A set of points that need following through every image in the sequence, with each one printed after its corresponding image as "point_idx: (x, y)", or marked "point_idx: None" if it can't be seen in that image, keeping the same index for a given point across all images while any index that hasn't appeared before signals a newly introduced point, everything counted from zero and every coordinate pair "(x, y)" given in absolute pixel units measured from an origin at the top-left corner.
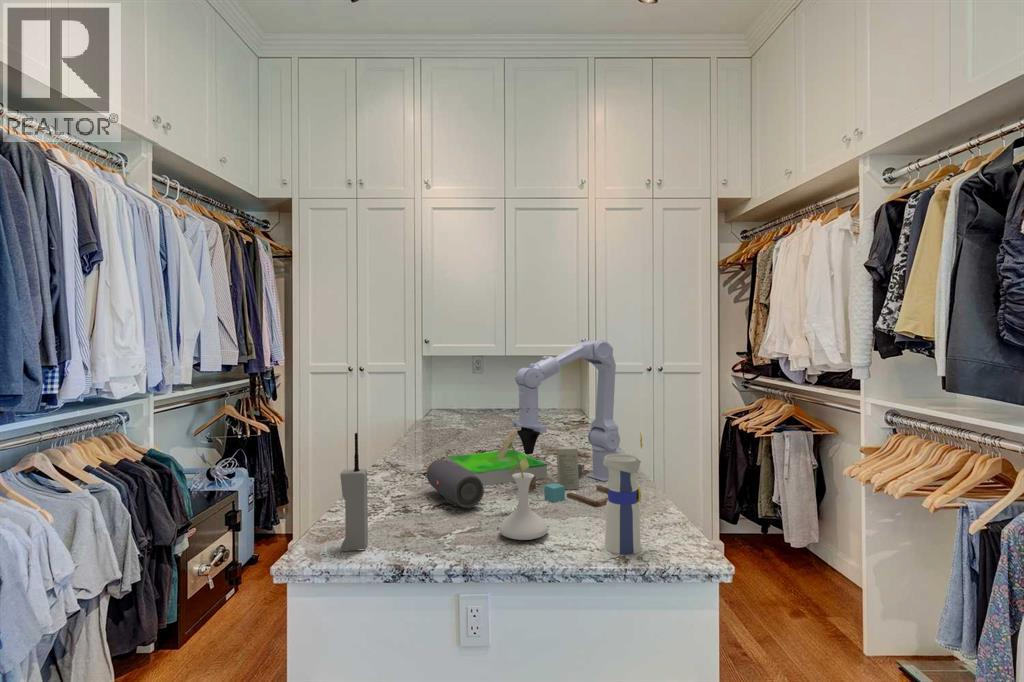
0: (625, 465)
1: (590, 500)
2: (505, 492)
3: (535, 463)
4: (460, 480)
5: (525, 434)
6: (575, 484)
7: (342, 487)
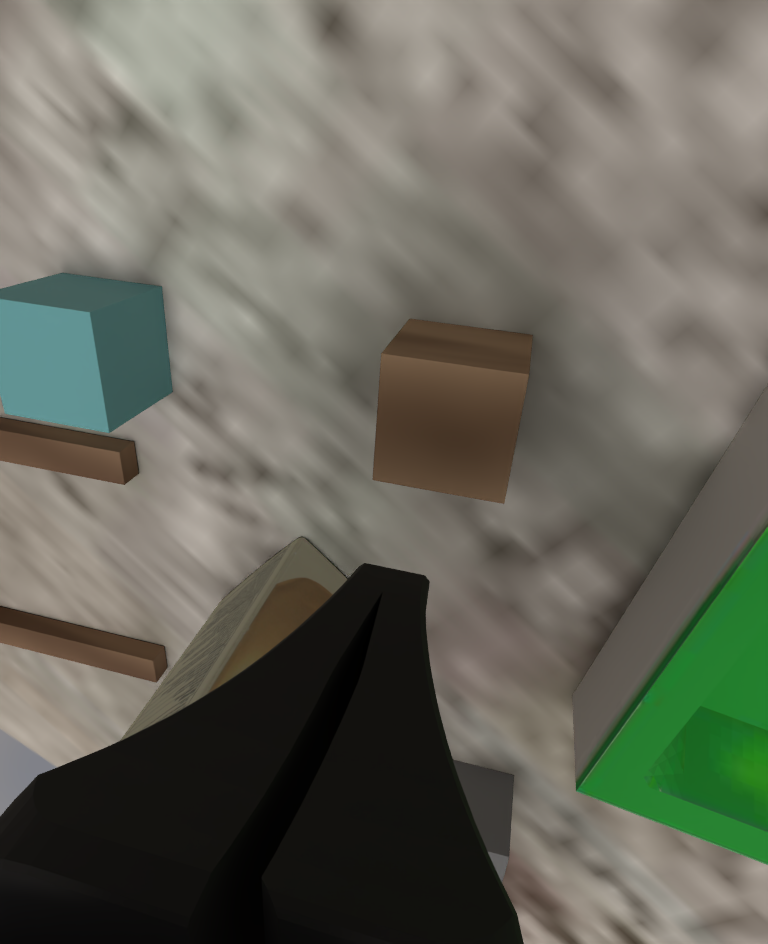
0: None
1: None
2: (534, 164)
3: (720, 795)
4: None
5: (74, 793)
6: (216, 612)
7: None
